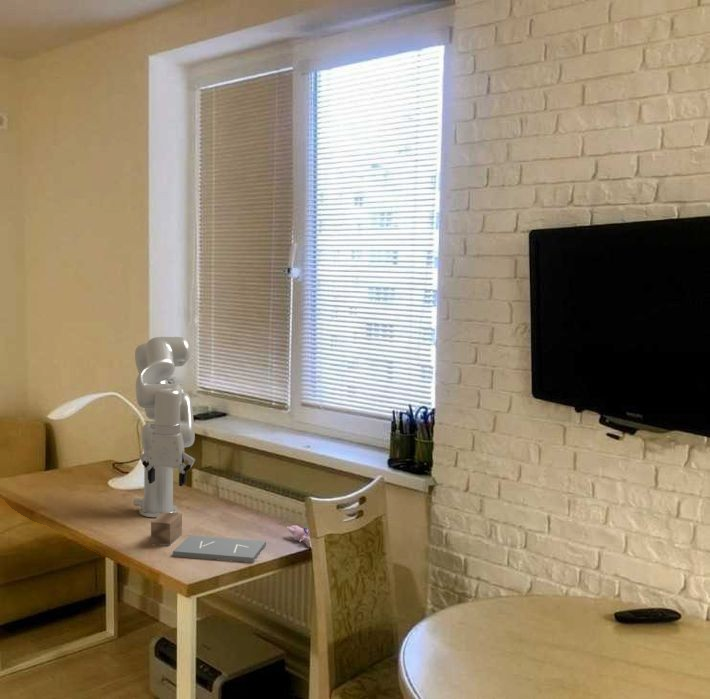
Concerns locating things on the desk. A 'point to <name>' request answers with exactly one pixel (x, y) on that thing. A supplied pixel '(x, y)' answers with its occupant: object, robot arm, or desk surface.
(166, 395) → the robot arm
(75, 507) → the desk surface
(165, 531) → the block
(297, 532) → the pink plastic figure
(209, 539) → the slate board
